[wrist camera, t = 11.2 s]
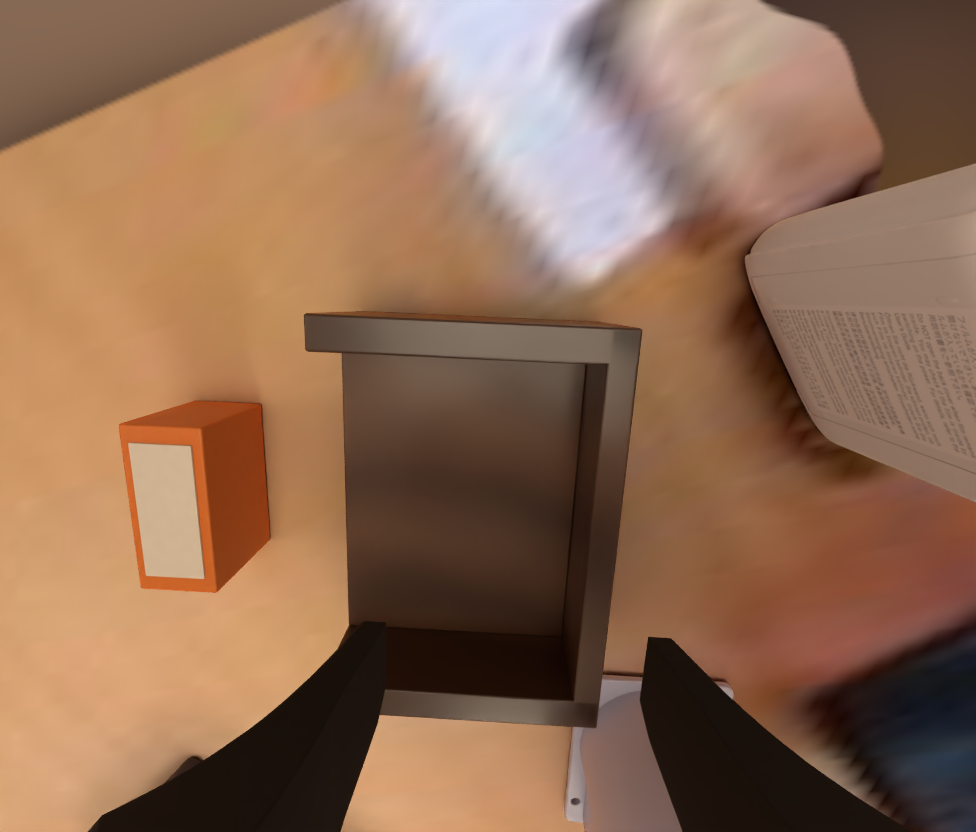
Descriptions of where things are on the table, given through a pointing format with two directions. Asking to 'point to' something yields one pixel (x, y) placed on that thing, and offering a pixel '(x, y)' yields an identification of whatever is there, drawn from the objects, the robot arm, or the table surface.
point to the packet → (196, 493)
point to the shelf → (484, 505)
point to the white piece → (882, 322)
